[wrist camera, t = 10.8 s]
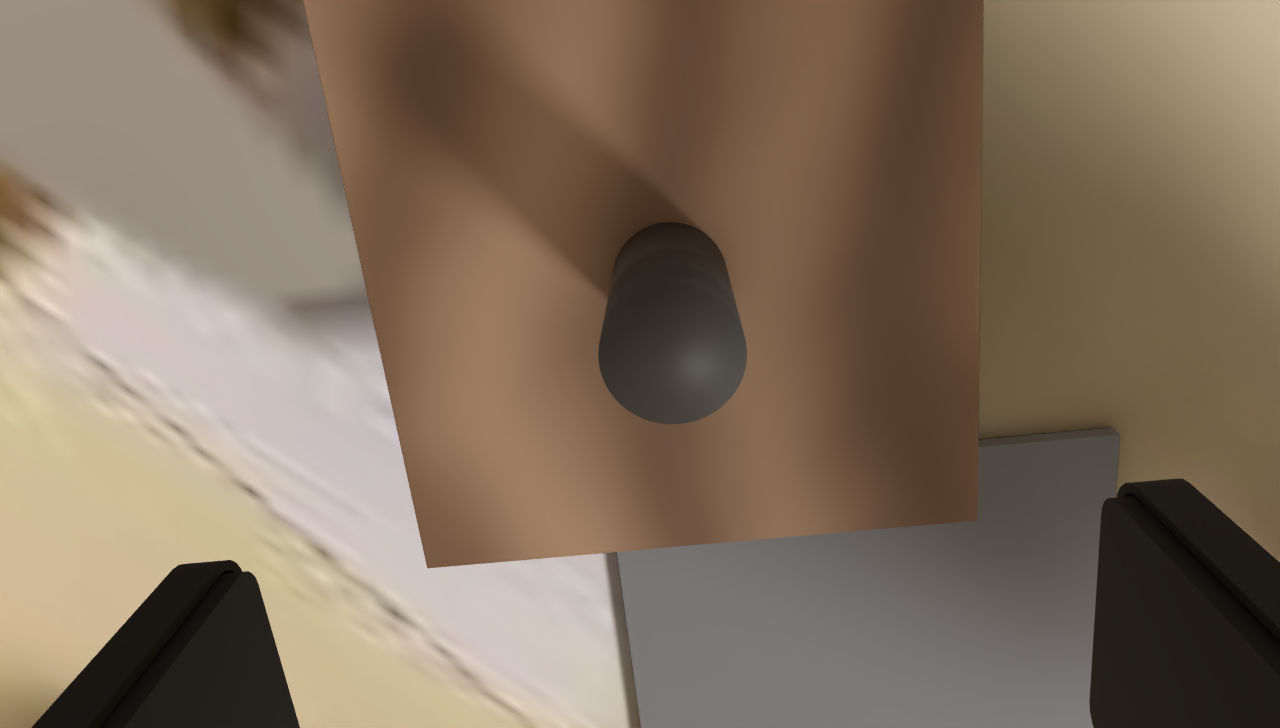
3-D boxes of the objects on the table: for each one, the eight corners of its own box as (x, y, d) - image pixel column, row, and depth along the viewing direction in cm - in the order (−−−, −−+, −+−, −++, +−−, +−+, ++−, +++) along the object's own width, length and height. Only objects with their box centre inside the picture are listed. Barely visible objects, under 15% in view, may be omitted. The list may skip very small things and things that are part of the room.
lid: (970, -92, 22) (1099, -137, 16) (966, 503, 28) (1060, 653, 21) (315, -11, 23) (178, -22, 17) (435, 550, 29) (368, 708, 22)
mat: (1112, 427, 33) (1119, 434, 33) (1086, 818, 40) (1092, 830, 39) (607, 473, 34) (606, 480, 34) (659, 847, 41) (659, 859, 40)
